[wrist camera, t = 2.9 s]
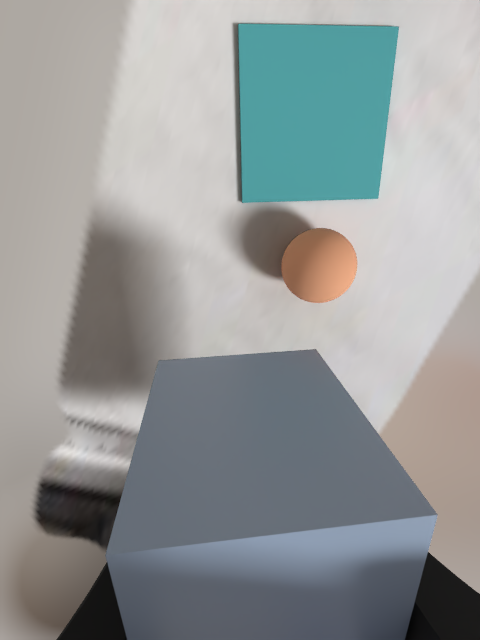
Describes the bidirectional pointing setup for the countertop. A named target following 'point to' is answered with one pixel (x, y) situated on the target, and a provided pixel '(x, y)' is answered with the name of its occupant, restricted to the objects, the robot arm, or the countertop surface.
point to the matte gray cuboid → (264, 509)
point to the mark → (313, 110)
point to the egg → (319, 265)
